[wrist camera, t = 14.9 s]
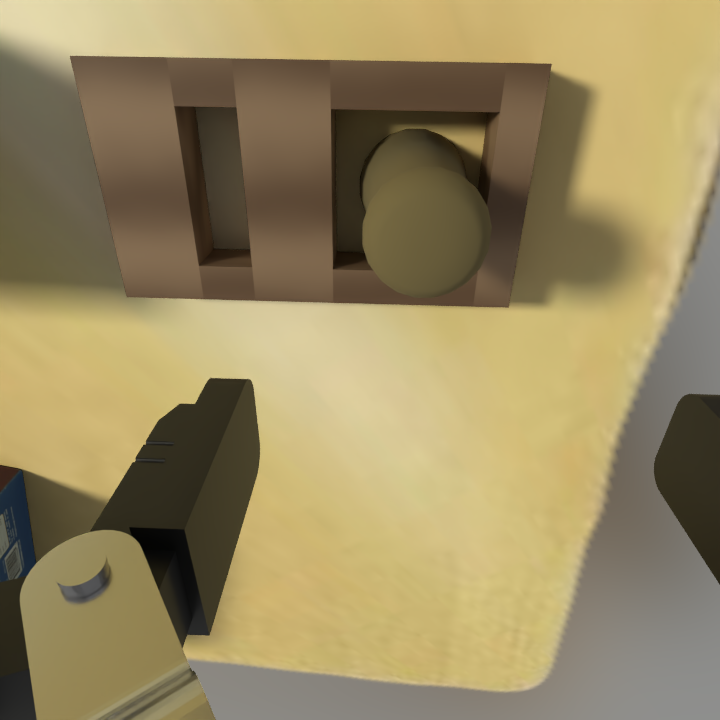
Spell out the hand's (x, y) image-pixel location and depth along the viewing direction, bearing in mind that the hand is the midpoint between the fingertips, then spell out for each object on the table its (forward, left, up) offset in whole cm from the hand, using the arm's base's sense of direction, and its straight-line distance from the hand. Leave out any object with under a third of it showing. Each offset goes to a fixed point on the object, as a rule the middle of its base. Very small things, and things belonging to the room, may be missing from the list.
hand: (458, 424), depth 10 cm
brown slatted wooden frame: (0, -5, -22) cm, 22 cm away
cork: (0, 0, -22) cm, 22 cm away
